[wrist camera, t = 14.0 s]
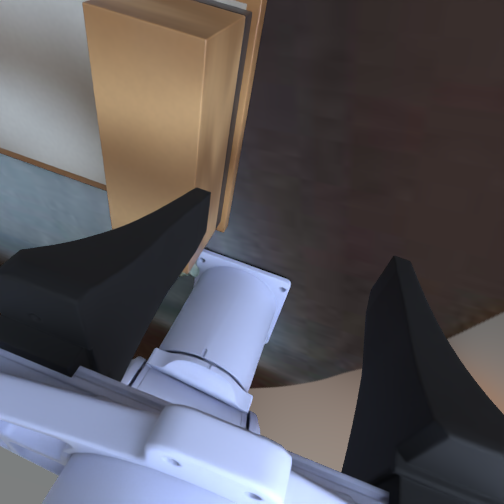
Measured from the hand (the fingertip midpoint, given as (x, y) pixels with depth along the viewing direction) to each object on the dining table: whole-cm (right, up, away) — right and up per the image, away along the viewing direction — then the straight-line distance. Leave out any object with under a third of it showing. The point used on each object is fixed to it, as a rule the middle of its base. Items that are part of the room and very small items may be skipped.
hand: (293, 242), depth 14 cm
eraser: (-5, +7, +8) cm, 12 cm away
